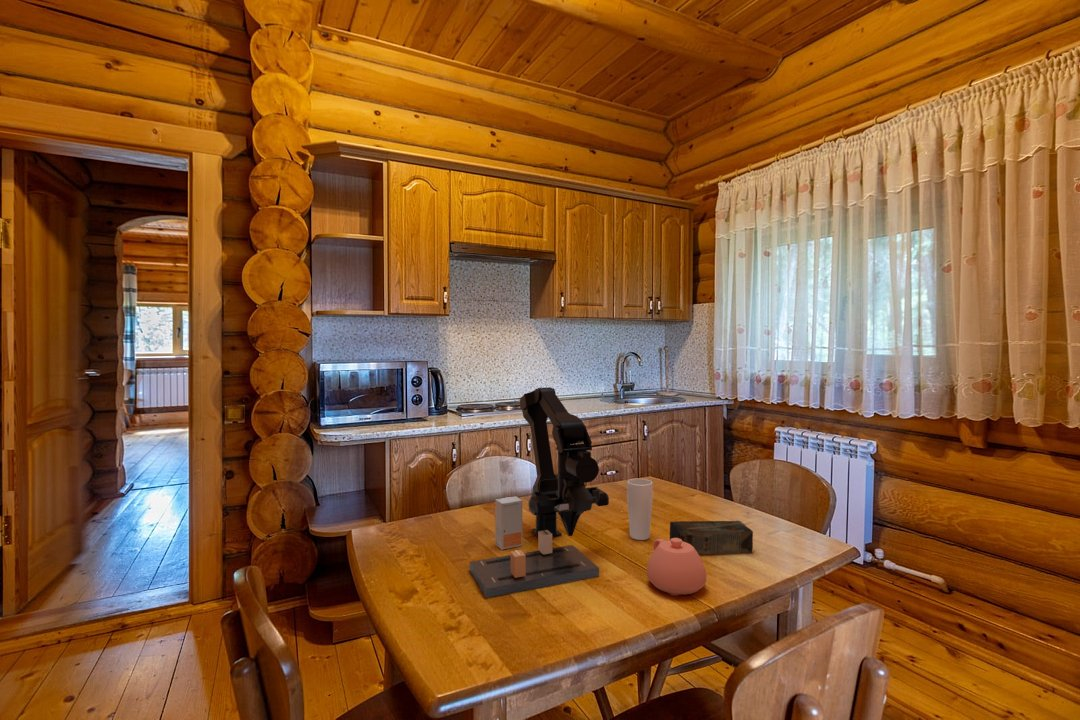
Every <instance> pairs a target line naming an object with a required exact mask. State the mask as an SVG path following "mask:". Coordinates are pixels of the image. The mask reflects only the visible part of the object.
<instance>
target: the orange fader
mask: <svg viewBox="0 0 1080 720" xmlns="http://www.w3.org/2000/svg"><path fill="white" fill-rule="evenodd" d="M524 553H525V552H523V551H522V550H521V549H519V550H516V549H515V550H513V551H510V554H509V555H510V565H511V573H512V575H513V576H514V577H515V578H517V577H523V576H526V555H525V554H524Z"/></svg>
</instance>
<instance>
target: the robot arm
mask: <svg viewBox="0 0 1080 720" xmlns="http://www.w3.org/2000/svg"><path fill="white" fill-rule="evenodd" d="M519 408H520V410H521V411H522V412H521V413H522V417H523V418H524V420H525V421H526V422H527V423H528V424H529V426H530V427H529V428H530V433H531V434H530V435H531V440H532V441H531V442H532V449H533V450H532V451H533V454H534V457H533V458H534V463H535V471H536V472H535V473H536V479H535V481H534V484H533V486H532V493H531V496H530V498H529V500H528V509H529V512H530V513H532V515H534V516H535V528H531V533H533V534H534V535H535V536H536V537H537V538H538V531H543V530H548V531H549V532H550V533H552V538H553V537H558V536H562V532H561V531H559V530H558V519H557V517H558V515H559V517H560V520H561V521H562V525H563V528H564V530H565V532H566V535H567V536H568V537H573V536H574V533H575V530H576V526H577V523H578V521H579V519H580V518H581V515H582V514H583V513H584V512H588V511H591V510H592V507H593V505H594V504H595V505H596V506H597V507H603V506H605V507H606V506H608V505H610V502H609V501H610V498H609V497H610V496H609V494H608V493H607V492H605V491H604V490H601V489H600V488H598V486H591V487H586V485H585V484H586V483H591V482H593V481H594V480H595V479H597V477H598V475H599V472H600V466H599V464H598V462H597V460H596V459H594V458H593V457H592V453H591V451H592V450H593V447H592V444H593V441H592V439H591V436H590V435H589V432H588V429H587V426H586V425H585V423H584V422H583V421H582V419H580V418H579V417H578V415H574V414H572V413H569V411H568V409H567V408H566V407H565V406H564V404H563V403H562V401H561V400H560V398H559V397H558V396H557V394H556V390H555V388H553V387H537V388H534V390H531V391H529V392H526V393H524V394H523V395H522V396H521V397H520V399H519ZM548 420H549V421H550V424H552V430H551V434H552V439H553V440H554V443H555V445H556V447H555V450H556V451H557V474H555V471H554V464H553V462H554V461H553V457H552V450H551V443H550V442H551V441H550V437H549V431H548V423H547V422H548Z"/></svg>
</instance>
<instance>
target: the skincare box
mask: <svg viewBox="0 0 1080 720" xmlns="http://www.w3.org/2000/svg"><path fill="white" fill-rule="evenodd" d="M494 506H495V508H494V509H495V511H494V513H495V514H494V515H495V518H494V519H495V521H494V522H495V525H494V527H495V528H494V530H495V533H494V535H495V536H494V538H495V539H494V541H495V542H494V544H495V546H496V547H497V548H498V549H500V550H501V551H503V550H506V549H512V548H519V547H523V500H522V499H521V498H519V497H518V496H517V495H515V496H509V497H507V496H506V497H503V498H496V499H495V505H494Z"/></svg>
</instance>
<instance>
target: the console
mask: <svg viewBox="0 0 1080 720" xmlns="http://www.w3.org/2000/svg"><path fill="white" fill-rule="evenodd" d="M523 553H524V554H525V555H526V576H523V577H517V578H515V577H514V576H513V575H512V573H511V565H510V554H509V555H504V556H503V555H501V556H496V557H490V558H486V559H479V560H473V561H469V563H468V564H469V566H468V567H469V572H470V573H471V576H472V577H473V579H474V581H475V582H476V584H477V585H478V588H479V589H480V591H481V592H482V593H483V596H484V597H485V599H489V598H490V599H491V598H494V597H499V596H504V595H505V596H506V595H510V594H516V593H521V592H527V591H529V590H530V591H531V590H535V589H540V588H545V587H552V586H556V585H561V584H562V585H563V584H568V583H572V582H578V581H582V580H588V579H594V578H598V577H600V567H599V566H597V564H595V563H594V562H593V561H592V560H591V559H589V558H588V557H587V556H586V555H585V554H583V552H581V550H579V549H578V548H576V547H575V546H574V545H573V544H570V545H564V546H558V547H552V553H549V554H542V553H541V552H540V551H539V550H533V551H527V552H523Z"/></svg>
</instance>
